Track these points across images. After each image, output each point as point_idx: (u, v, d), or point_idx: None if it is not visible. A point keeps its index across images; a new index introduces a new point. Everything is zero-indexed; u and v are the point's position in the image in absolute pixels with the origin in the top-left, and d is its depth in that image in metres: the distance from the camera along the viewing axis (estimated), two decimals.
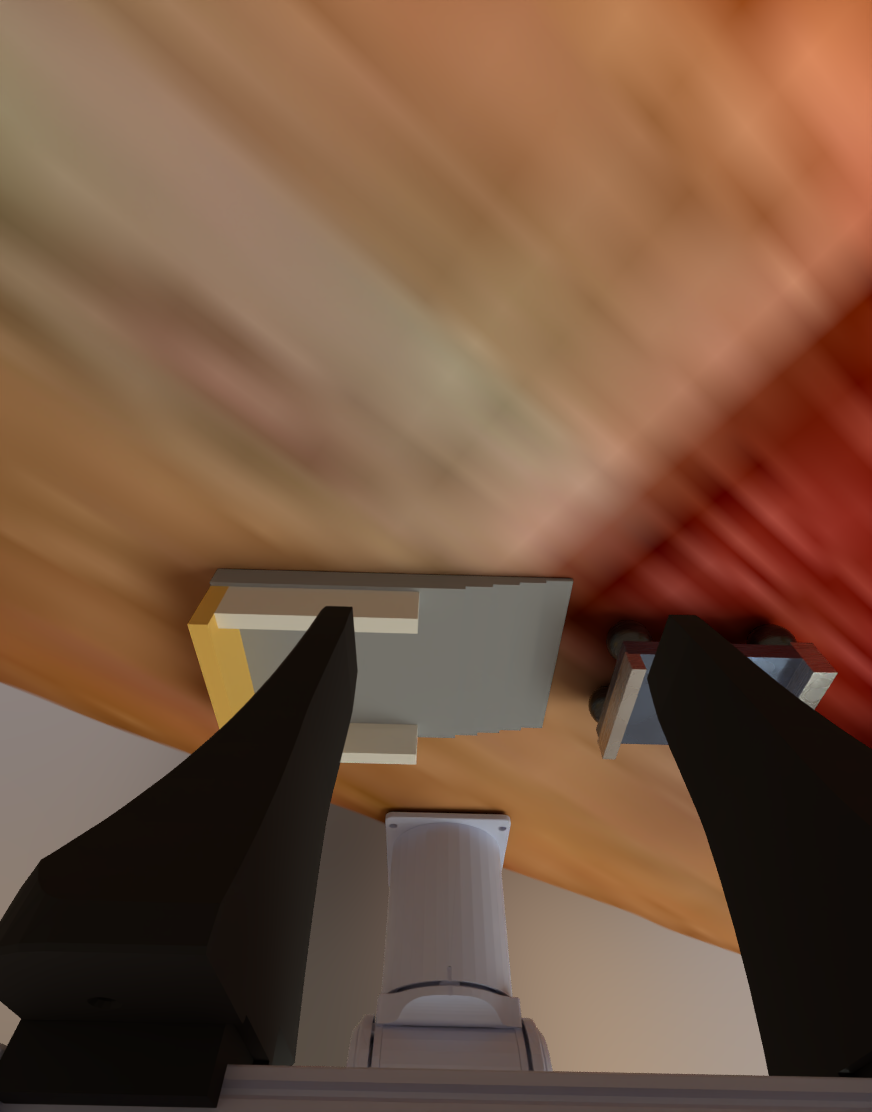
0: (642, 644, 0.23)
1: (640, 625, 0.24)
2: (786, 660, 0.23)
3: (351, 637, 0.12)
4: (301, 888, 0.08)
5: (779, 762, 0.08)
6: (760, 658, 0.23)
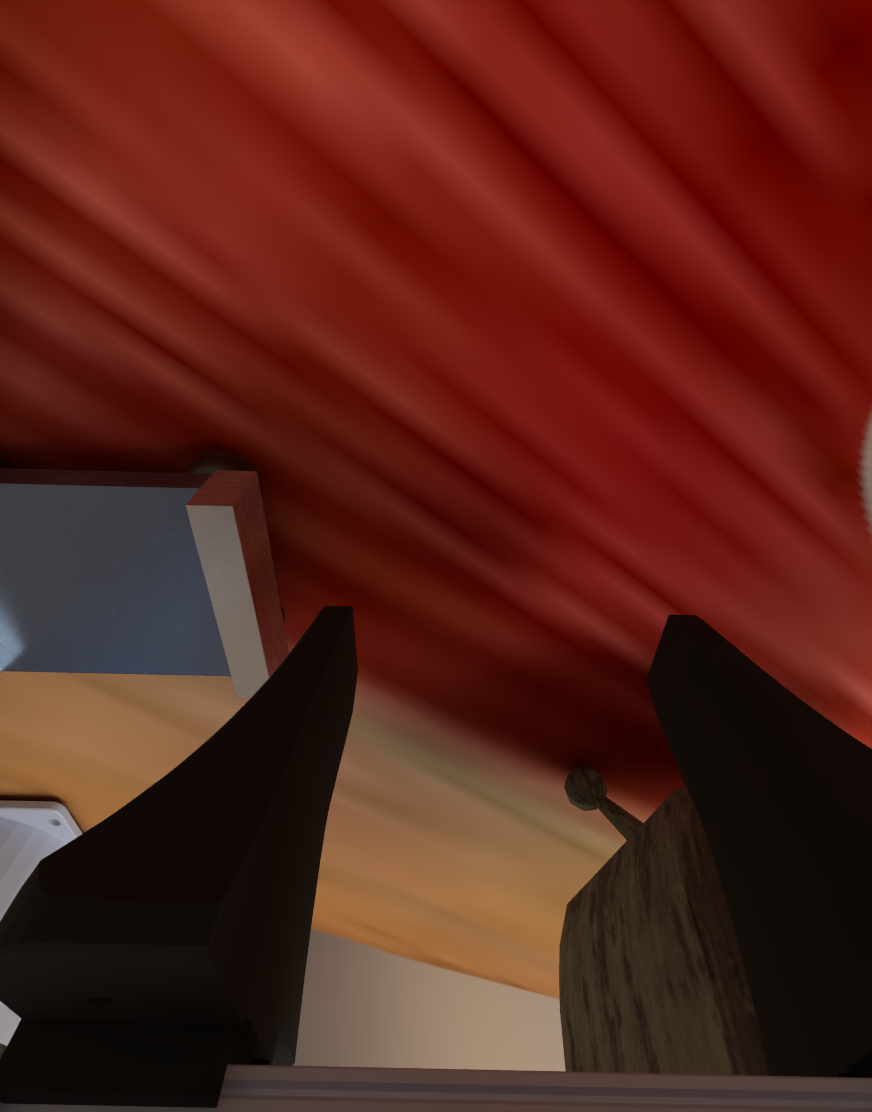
0: None
1: None
2: (176, 494, 0.12)
3: (351, 637, 0.12)
4: (301, 888, 0.08)
5: (779, 762, 0.08)
6: (124, 489, 0.12)
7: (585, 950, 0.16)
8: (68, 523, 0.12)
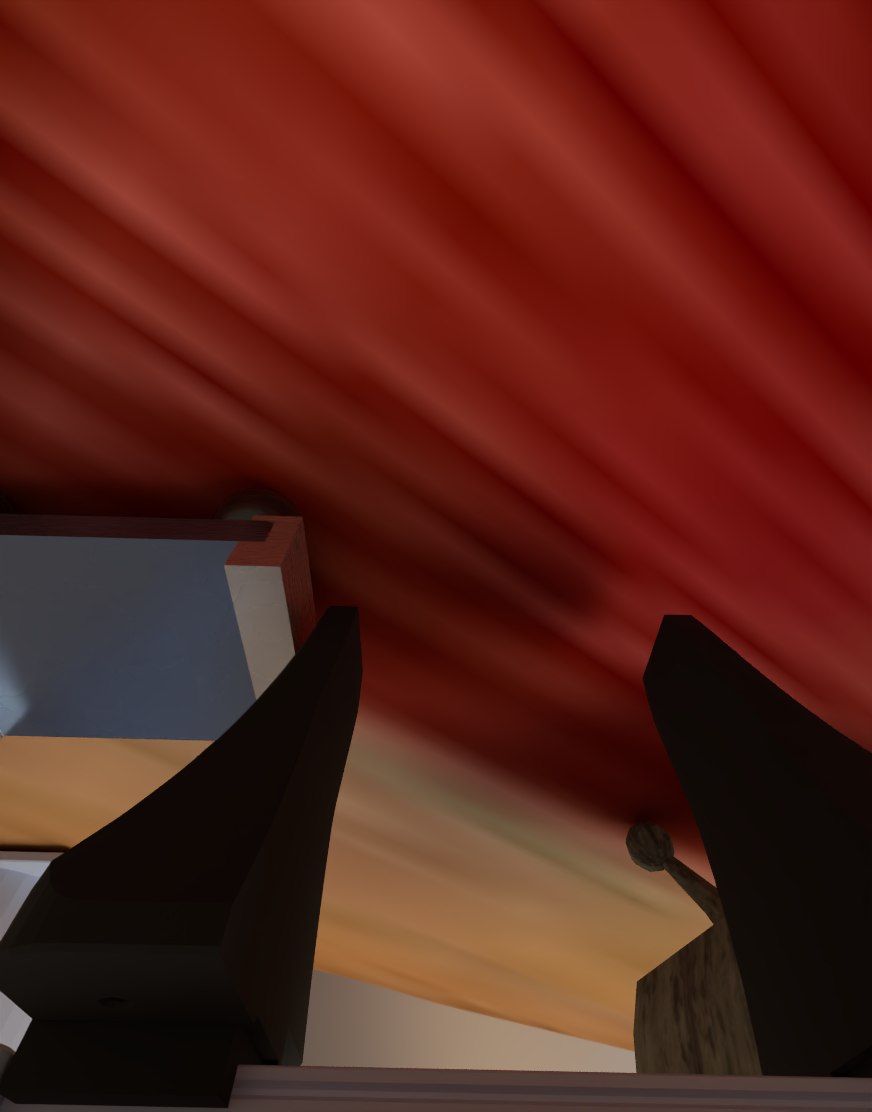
0: None
1: None
2: (210, 547, 0.10)
3: (356, 637, 0.12)
4: (309, 888, 0.08)
5: (772, 762, 0.08)
6: (148, 542, 0.10)
7: (671, 1050, 0.14)
8: (81, 579, 0.11)
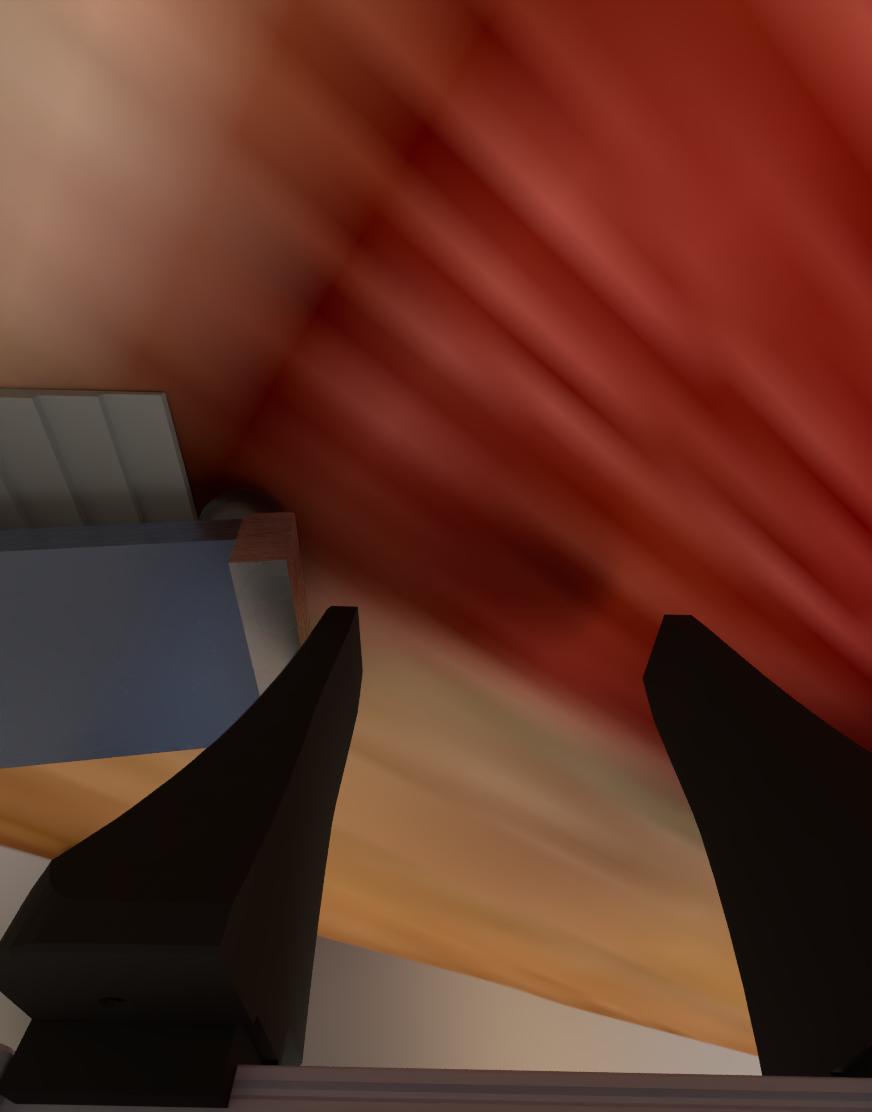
0: None
1: None
2: (206, 548, 0.10)
3: (356, 637, 0.12)
4: (309, 888, 0.08)
5: (773, 762, 0.08)
6: (140, 548, 0.10)
7: None
8: (67, 592, 0.10)
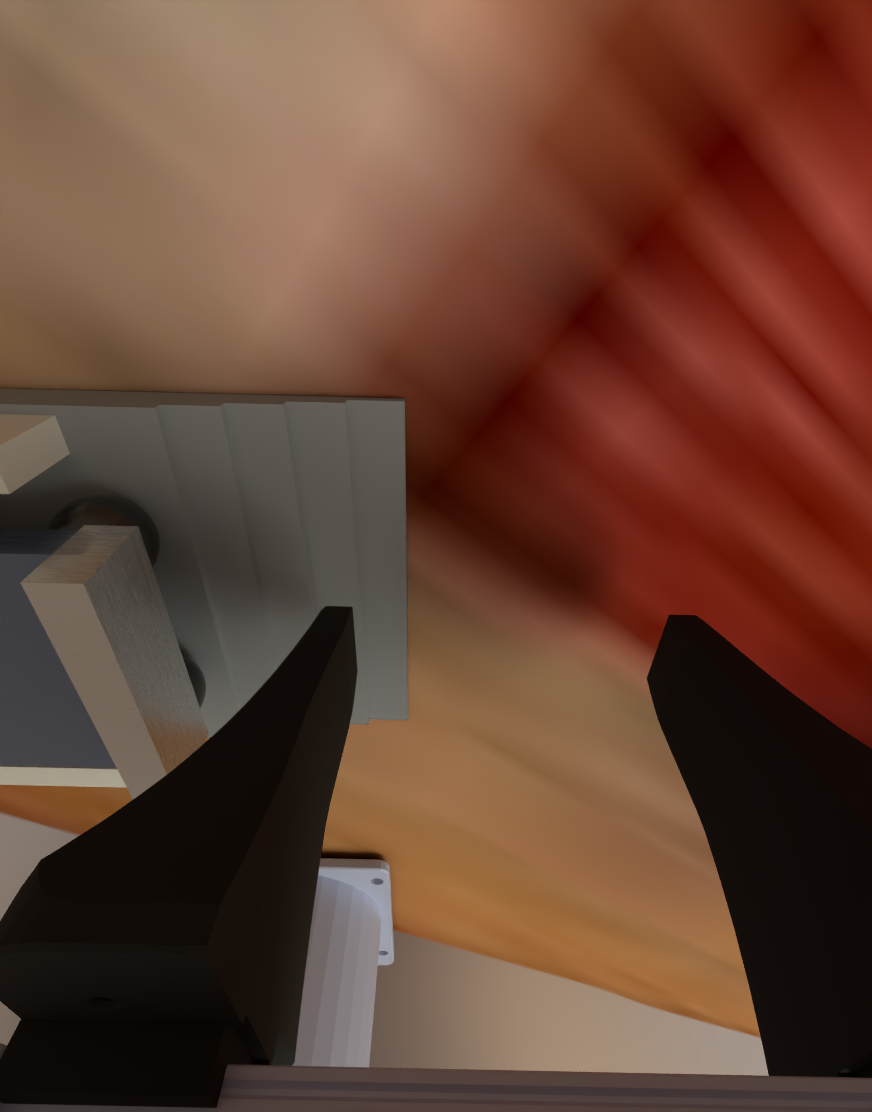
0: None
1: None
2: (23, 561, 0.09)
3: (351, 637, 0.12)
4: (301, 888, 0.08)
5: (779, 762, 0.08)
6: None
7: None
8: None
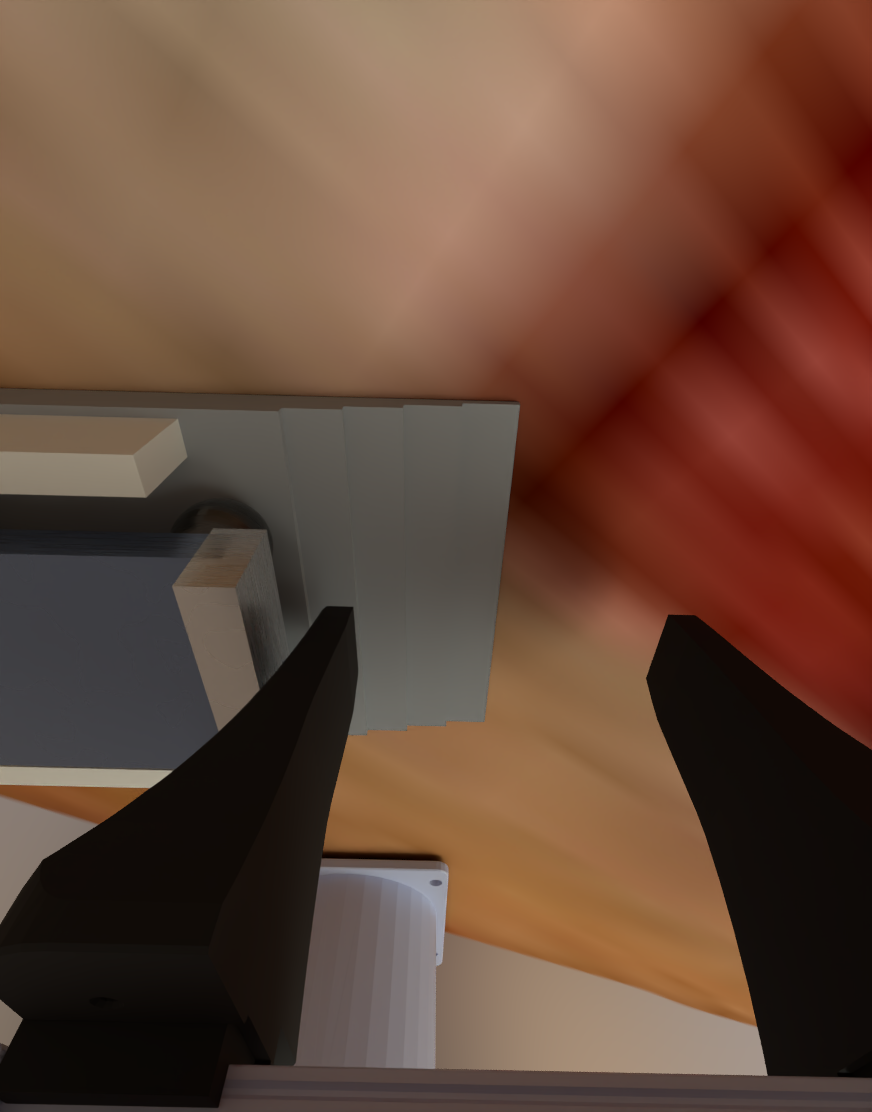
0: None
1: None
2: (161, 564, 0.09)
3: (352, 637, 0.12)
4: (302, 888, 0.08)
5: (778, 762, 0.08)
6: (92, 559, 0.09)
7: None
8: (22, 599, 0.10)
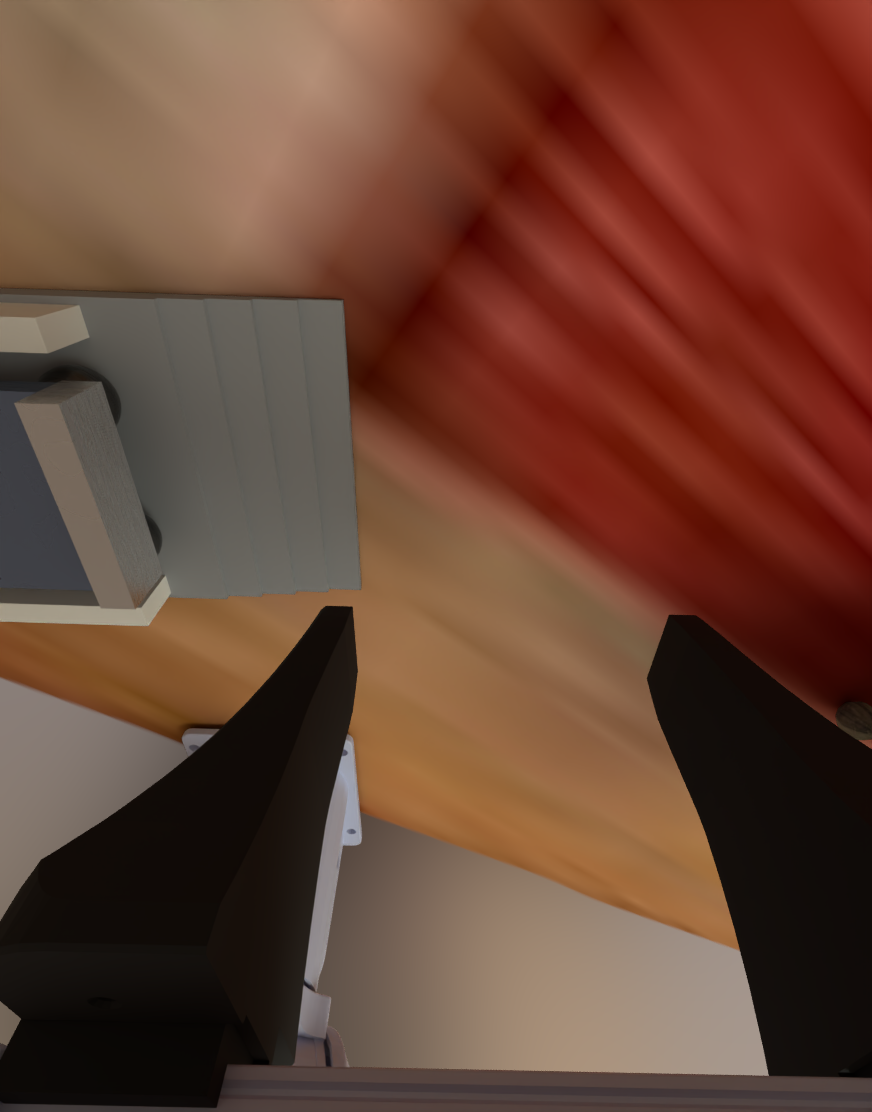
0: None
1: None
2: (16, 398, 0.13)
3: (351, 637, 0.12)
4: (301, 888, 0.08)
5: (779, 762, 0.08)
6: None
7: None
8: None
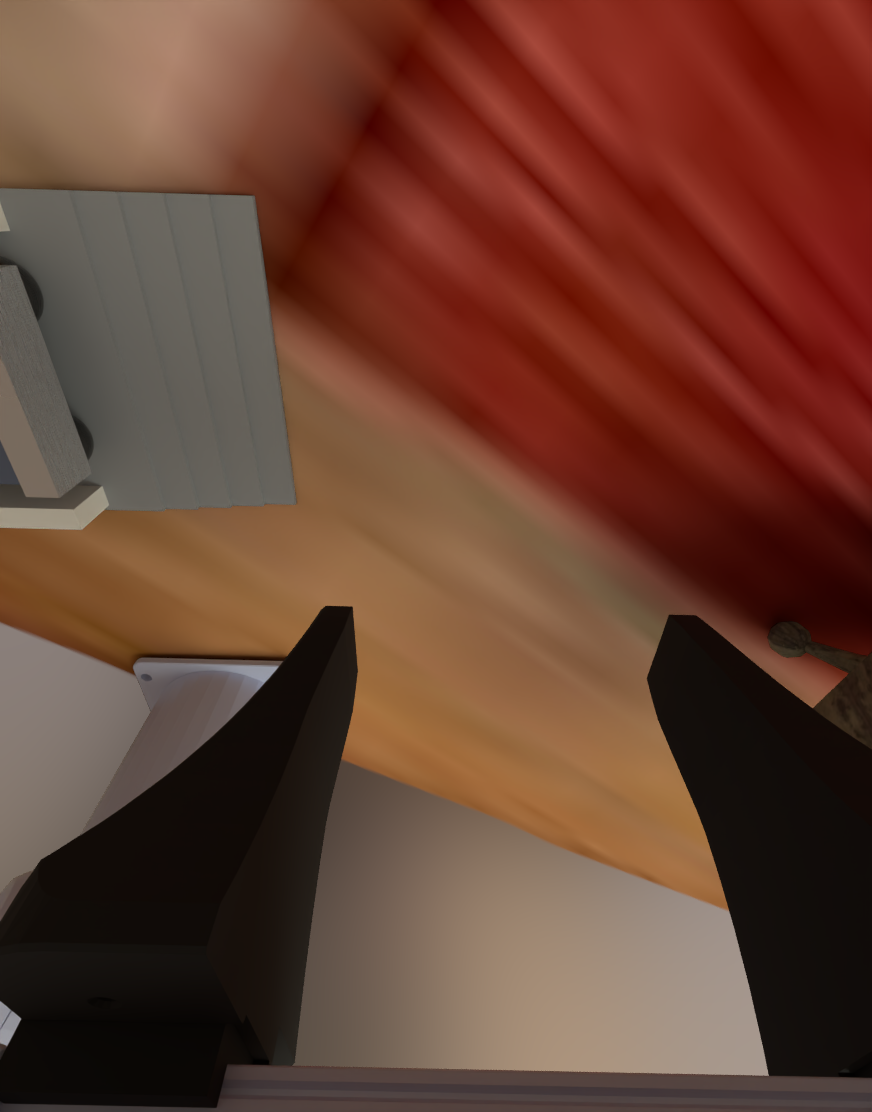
0: None
1: None
2: None
3: (351, 637, 0.12)
4: (301, 888, 0.08)
5: (779, 762, 0.08)
6: None
7: None
8: None
